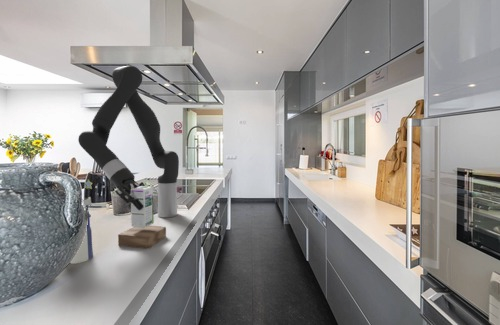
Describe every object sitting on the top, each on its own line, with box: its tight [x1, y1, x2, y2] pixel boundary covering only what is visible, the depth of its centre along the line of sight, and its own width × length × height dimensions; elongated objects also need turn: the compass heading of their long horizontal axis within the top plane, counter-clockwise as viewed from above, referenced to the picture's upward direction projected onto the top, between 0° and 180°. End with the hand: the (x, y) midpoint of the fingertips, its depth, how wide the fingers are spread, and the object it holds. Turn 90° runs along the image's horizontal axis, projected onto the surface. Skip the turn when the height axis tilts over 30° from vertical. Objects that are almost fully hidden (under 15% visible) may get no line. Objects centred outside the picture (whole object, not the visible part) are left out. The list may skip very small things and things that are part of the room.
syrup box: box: [130, 185, 155, 228], centre depth 97 cm, size 6×6×14 cm
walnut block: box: [117, 225, 167, 249], centre depth 97 cm, size 12×12×4 cm
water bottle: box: [70, 179, 94, 265], centre depth 81 cm, size 8×9×25 cm
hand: (146, 206), depth 96 cm, fingers closed on syrup box, 5 cm apart
